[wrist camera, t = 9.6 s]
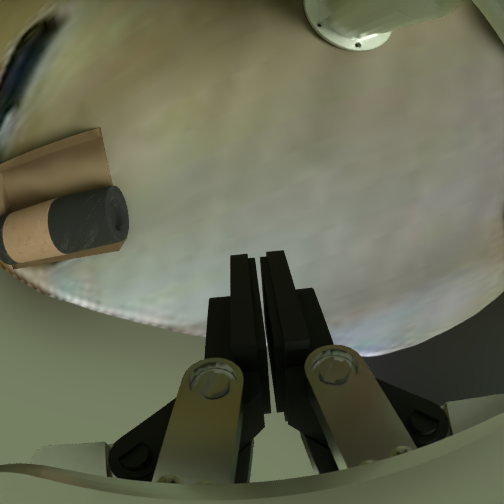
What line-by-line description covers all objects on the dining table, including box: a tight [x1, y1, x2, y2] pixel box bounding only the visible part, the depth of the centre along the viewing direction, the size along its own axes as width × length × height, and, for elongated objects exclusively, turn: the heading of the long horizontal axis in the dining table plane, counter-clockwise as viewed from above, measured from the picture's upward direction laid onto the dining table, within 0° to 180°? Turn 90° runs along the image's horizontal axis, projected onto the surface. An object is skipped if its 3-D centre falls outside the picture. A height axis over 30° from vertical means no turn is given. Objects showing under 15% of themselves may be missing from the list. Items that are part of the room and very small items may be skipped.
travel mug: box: [0, 186, 129, 265], centre depth 36 cm, size 8×8×20 cm
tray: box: [0, 128, 127, 269], centre depth 37 cm, size 16×20×4 cm
